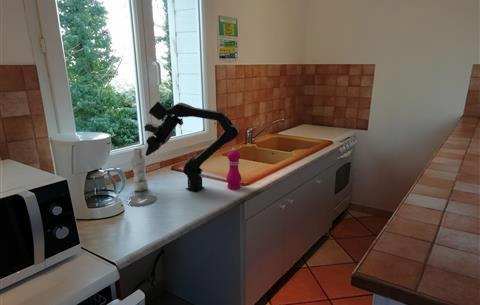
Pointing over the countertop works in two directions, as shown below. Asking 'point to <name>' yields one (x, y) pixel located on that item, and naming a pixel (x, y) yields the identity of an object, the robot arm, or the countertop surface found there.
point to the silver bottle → (139, 170)
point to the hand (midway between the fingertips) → (149, 152)
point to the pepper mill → (233, 170)
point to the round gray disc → (142, 200)
